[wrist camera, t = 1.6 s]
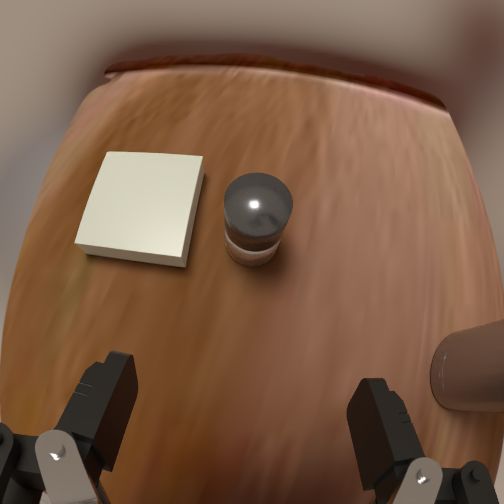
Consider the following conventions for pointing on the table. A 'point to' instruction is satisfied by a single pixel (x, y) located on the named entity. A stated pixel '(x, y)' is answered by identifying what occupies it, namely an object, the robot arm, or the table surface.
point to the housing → (255, 217)
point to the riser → (143, 207)
